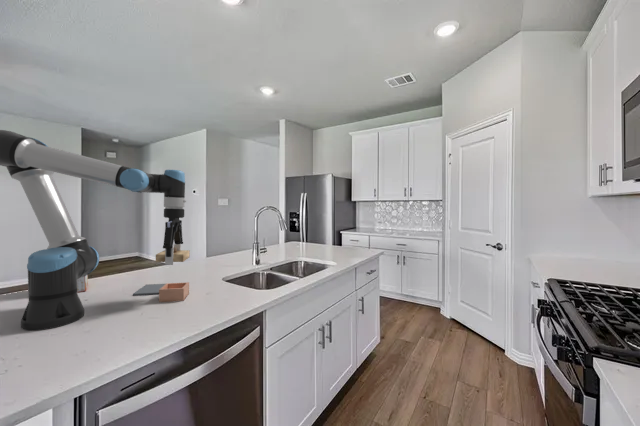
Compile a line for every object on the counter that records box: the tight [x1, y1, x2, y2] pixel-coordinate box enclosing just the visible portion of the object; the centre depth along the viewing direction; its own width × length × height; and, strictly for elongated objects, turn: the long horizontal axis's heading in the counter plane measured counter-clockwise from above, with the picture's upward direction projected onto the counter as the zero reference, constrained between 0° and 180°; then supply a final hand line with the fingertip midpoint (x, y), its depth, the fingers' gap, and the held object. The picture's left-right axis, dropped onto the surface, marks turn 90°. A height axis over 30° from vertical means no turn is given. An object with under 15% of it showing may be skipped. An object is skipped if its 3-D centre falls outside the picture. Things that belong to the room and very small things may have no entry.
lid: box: [155, 247, 191, 263], centre depth 115 cm, size 10×10×5 cm
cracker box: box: [77, 274, 89, 293], centre depth 126 cm, size 14×6×21 cm, turn 37°
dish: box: [158, 281, 190, 303], centre depth 116 cm, size 9×9×5 cm
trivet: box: [132, 283, 166, 297], centre depth 126 cm, size 14×14×1 cm
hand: (173, 262), depth 115 cm, fingers closed on lid, 10 cm apart
